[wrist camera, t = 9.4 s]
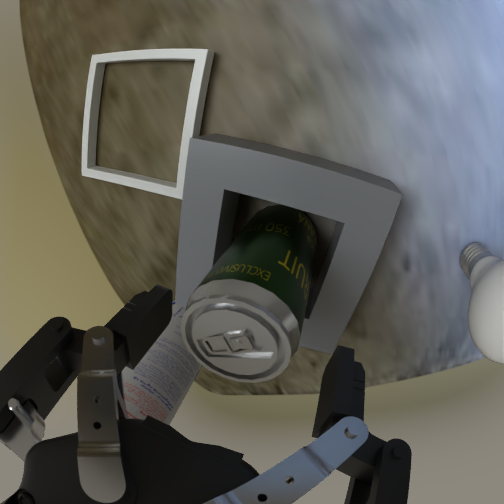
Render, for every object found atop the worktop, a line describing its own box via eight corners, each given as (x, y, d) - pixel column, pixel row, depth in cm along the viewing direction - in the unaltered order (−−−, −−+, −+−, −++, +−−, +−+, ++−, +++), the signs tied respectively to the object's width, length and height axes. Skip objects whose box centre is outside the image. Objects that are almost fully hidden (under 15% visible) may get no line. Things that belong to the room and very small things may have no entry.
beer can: (264, 273, 24) (210, 387, 14) (238, 214, 22) (154, 304, 12) (326, 257, 22) (312, 380, 11) (304, 192, 20) (268, 279, 10)
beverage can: (170, 288, 28) (73, 400, 15) (223, 302, 26) (141, 438, 14) (174, 329, 30) (98, 436, 17) (222, 344, 29) (157, 466, 16)
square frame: (214, 52, 17) (207, 49, 16) (191, 195, 23) (184, 200, 22) (100, 56, 19) (92, 55, 18) (90, 172, 24) (81, 175, 23)
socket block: (389, 180, 18) (402, 194, 15) (333, 322, 24) (331, 354, 21) (214, 133, 20) (189, 137, 16) (195, 278, 26) (175, 303, 23)
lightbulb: (510, 247, 17) (577, 326, 7) (465, 299, 20) (508, 396, 10) (471, 200, 17) (554, 271, 7) (423, 262, 20) (467, 365, 10)
